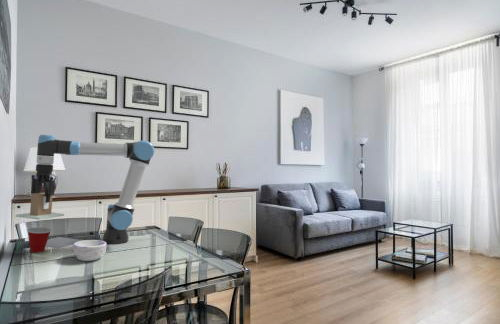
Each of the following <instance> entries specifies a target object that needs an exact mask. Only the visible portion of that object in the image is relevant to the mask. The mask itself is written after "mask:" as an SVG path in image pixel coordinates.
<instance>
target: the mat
mask: <svg viewBox="0 0 500 324" xmlns="http://www.w3.org/2000/svg"><path fill="white" fill-rule="evenodd" d="M83 240H84V239H76V238H71V237H69V238H68V237H62V236H58V237H52V238H48V240H47V244H46V246H45V248H46V247H47V248H52V249H62V248H66V247H69V246H72V245H73V244H74V243H75V242H78V241H83Z"/></svg>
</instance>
